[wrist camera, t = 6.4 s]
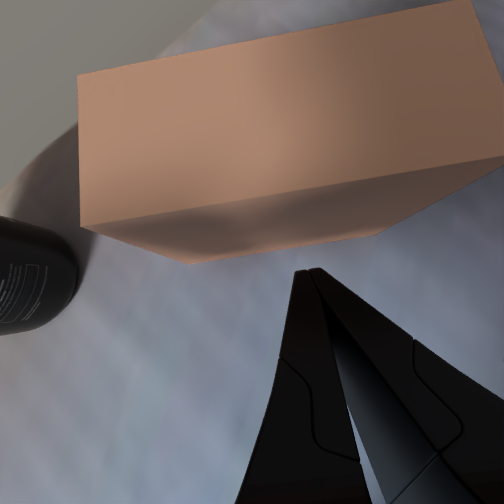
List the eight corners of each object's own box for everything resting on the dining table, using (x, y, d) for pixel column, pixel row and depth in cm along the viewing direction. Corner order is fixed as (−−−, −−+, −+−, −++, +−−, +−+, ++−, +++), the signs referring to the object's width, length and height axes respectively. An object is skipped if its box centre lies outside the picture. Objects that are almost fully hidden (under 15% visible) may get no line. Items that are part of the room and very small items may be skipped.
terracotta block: (375, 234, 15) (529, 151, 6) (188, 264, 15) (80, 226, 7) (357, 162, 16) (469, -4, 7) (181, 192, 16) (77, 75, 8)
